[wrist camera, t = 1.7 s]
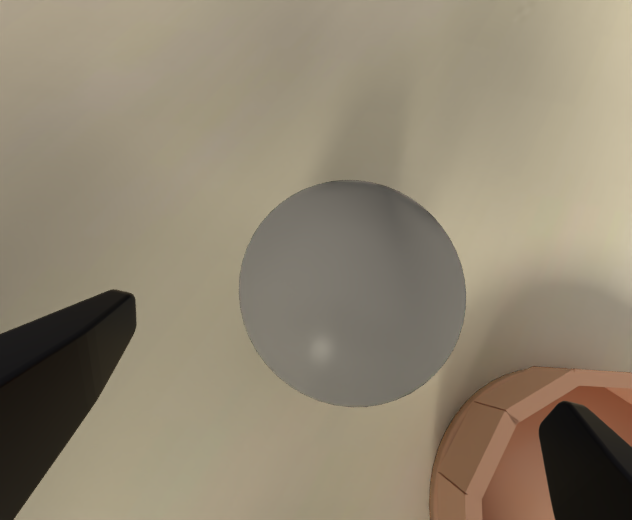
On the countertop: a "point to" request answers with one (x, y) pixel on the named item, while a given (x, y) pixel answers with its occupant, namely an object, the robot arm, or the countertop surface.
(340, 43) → the countertop surface
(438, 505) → the terracotta bowl
